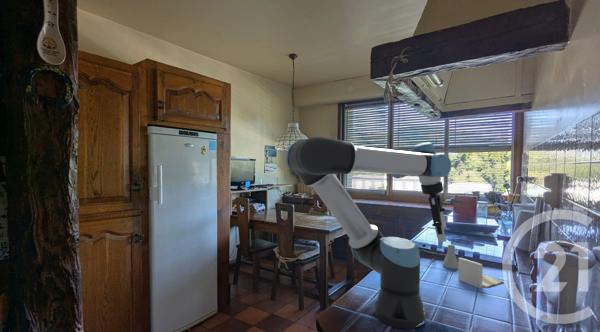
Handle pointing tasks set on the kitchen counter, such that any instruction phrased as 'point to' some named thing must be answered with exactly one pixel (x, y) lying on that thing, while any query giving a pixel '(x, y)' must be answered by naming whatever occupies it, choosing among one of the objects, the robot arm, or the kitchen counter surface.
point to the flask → (451, 258)
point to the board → (490, 281)
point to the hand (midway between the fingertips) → (442, 233)
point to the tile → (470, 272)
